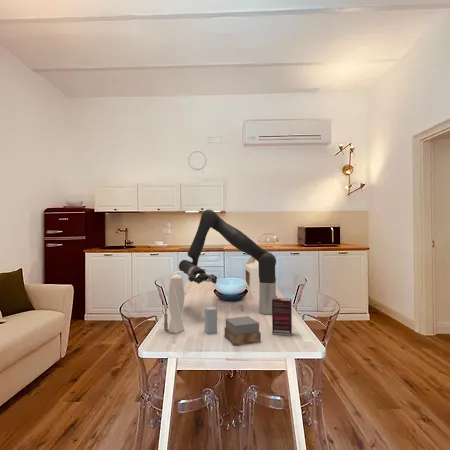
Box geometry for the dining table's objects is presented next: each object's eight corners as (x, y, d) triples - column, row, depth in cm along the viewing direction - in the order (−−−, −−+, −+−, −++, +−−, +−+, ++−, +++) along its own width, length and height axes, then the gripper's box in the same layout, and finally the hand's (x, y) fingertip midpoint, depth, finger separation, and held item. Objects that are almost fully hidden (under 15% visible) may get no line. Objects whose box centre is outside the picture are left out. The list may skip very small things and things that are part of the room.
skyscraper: (176, 327, 164) (176, 270, 164) (188, 331, 159) (188, 271, 159) (163, 331, 158) (163, 272, 158) (174, 335, 153) (174, 273, 152)
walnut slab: (249, 334, 155) (249, 324, 154) (260, 343, 143) (260, 332, 143) (224, 337, 151) (224, 327, 151) (234, 346, 139) (234, 335, 139)
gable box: (244, 286, 268) (244, 251, 268) (261, 286, 270) (261, 251, 270) (250, 292, 246) (250, 254, 246) (268, 292, 248) (268, 253, 248)
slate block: (214, 330, 160) (214, 306, 160) (216, 333, 155) (217, 309, 155) (204, 331, 158) (204, 307, 158) (207, 334, 154) (207, 309, 154)
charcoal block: (248, 324, 154) (248, 316, 154) (259, 332, 144) (259, 322, 144) (225, 327, 150) (225, 318, 150) (235, 335, 140) (235, 325, 140)
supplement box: (291, 332, 155) (292, 298, 155) (291, 336, 151) (291, 300, 151) (273, 331, 158) (273, 297, 158) (271, 334, 153) (271, 299, 153)
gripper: (184, 266, 180) (194, 274, 165) (209, 267, 185) (221, 274, 171) (183, 280, 180) (193, 289, 165) (208, 280, 186) (219, 289, 171)
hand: (207, 281), depth 168 cm, fingers open, 8 cm apart
